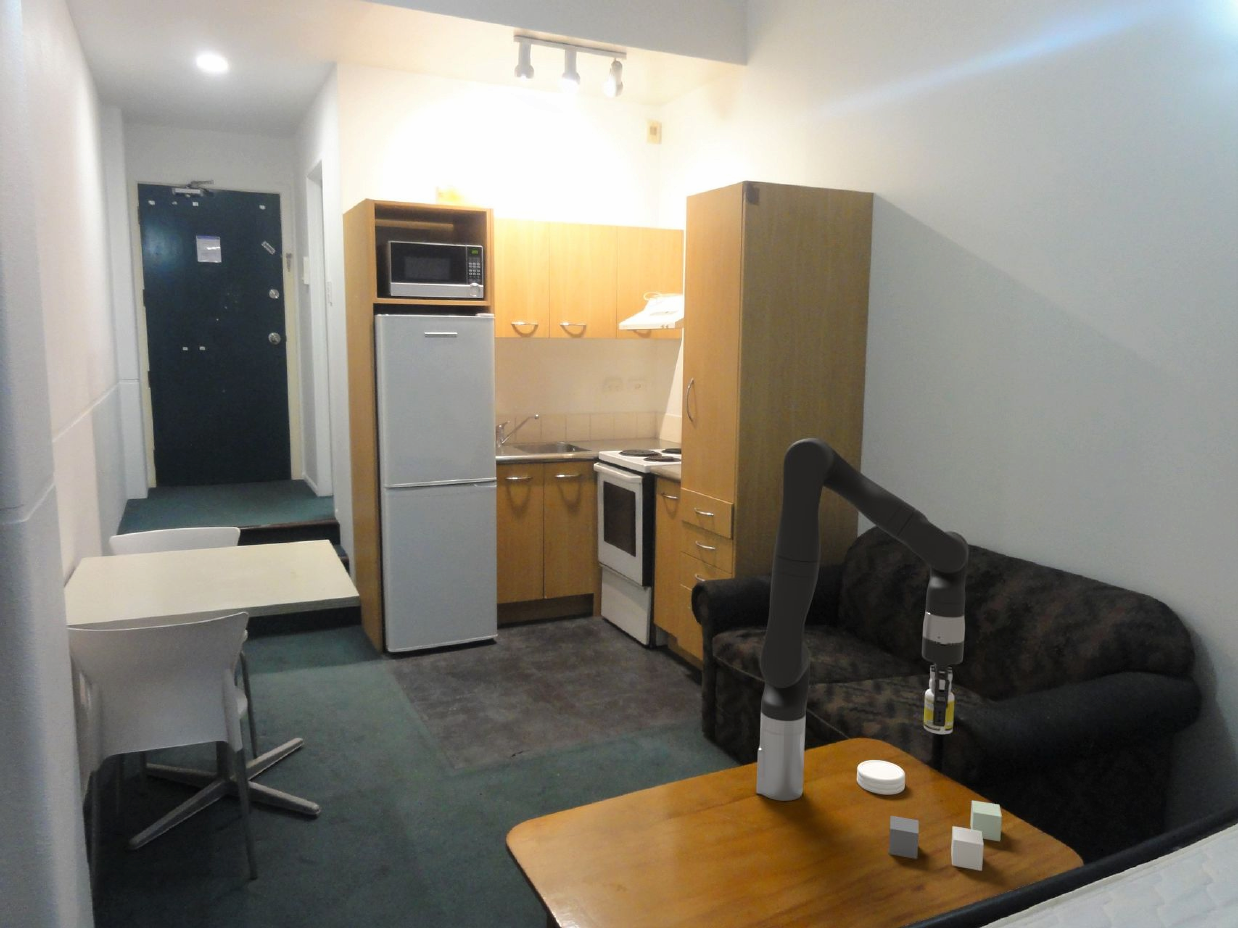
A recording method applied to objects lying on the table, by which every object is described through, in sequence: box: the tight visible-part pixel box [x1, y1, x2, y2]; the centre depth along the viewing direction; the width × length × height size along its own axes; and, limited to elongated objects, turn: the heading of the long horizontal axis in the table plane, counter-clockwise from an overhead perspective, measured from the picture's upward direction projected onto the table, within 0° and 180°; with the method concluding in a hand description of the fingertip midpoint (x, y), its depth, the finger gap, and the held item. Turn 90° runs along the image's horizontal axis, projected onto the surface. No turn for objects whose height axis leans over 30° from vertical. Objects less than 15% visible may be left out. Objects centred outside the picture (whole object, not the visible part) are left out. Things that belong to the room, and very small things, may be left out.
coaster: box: [856, 759, 906, 796], centre depth 189 cm, size 10×10×4 cm
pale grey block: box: [950, 825, 984, 871], centre depth 160 cm, size 5×5×5 cm
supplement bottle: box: [923, 678, 955, 735], centre depth 170 cm, size 5×5×10 cm
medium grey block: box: [888, 815, 920, 860], centre depth 163 cm, size 5×5×5 cm
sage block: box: [969, 800, 1003, 842], centre depth 170 cm, size 5×5×5 cm
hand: (938, 719), depth 171 cm, fingers closed on supplement bottle, 5 cm apart
